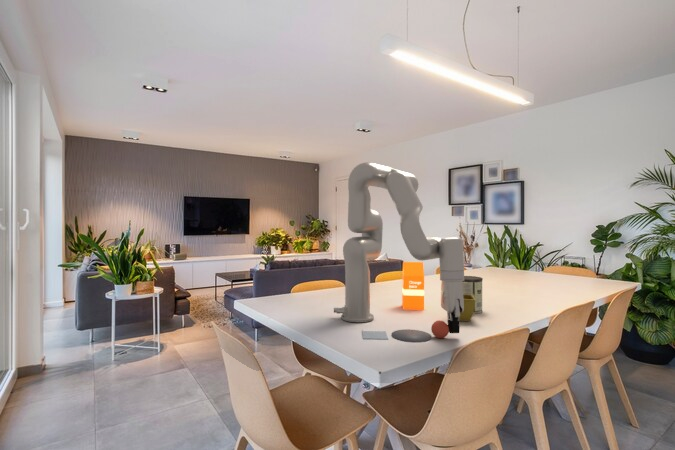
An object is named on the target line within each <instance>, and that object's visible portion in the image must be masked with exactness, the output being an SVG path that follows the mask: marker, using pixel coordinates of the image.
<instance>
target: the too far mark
mask: <svg viewBox="0 0 675 450" xmlns="http://www.w3.org/2000/svg"><path fill="white" fill-rule="evenodd" d="M361 333H362V339H363V340H389V336H388V334H387V332H386V330H381V331H380V330H378V331H376V330H375V331H374V330H372V331H371V330H369V331H368V330H362V331H361Z"/></svg>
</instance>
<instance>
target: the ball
mask: <svg viewBox="0 0 675 450" xmlns="http://www.w3.org/2000/svg"><path fill="white" fill-rule="evenodd" d="M431 334H432V335H433V336H434V337H436V338H437V339H444V338H446V337H447V336H448V334H450V333H449V327H448V323H446V322H445V321H444V320H436V321H434V322H433V323H432V324H431Z"/></svg>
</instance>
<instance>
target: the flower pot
mask: <svg viewBox="0 0 675 450" xmlns="http://www.w3.org/2000/svg"><path fill="white" fill-rule="evenodd" d="M463 298H464V311H463V312H462V313H461V312H460V317H459V322H470V321H471V319H472V317H473V316H474V314H475V313H474V307H475V298H474V297H473V296H472V295H463Z"/></svg>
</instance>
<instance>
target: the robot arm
mask: <svg viewBox="0 0 675 450" xmlns="http://www.w3.org/2000/svg"><path fill="white" fill-rule="evenodd" d="M348 176H349V177H348V180H347V181H348V182H347V183H348V184H347V188H348V204H347V205H348V206H347V226H348V230H349V231H351V232H352V233H356V234H361V236H353V237H350V238H348V239H347V240H346V241H345V242H344V244H343V247H342V255H343V259H344V270H345V271H344V273H345V274H344V275H345V276H344V277H345V278H344V279H345V285H344V286H345V289H344V291H345V294H344V295H345V297H344V299H345V300H344V303H345V304H344V305H343V306H342V307H333V313H334V314H335V313H336V314H338V315H339V314H341V315H340V316H341V318H340V319H342V320H343V321H345V322H349V323H367V322H372V321H373V320H374V319H375V315H374V314H372V313H371V310H370V309H371V271H370V266H369V264H368V261H371V260H376V259H377V258H378V257H379V256H380V254H381V252H382V247H383V229H384V228H383V218H382V215H381V214H380V212H378V211H377V210H375V209H371V201H372V199H371V193H370V190H369V187H375V188H382V189H385V190H387V192H388V193H389V195H390V198H391V201H392V202H393V204H394V206H395V209H396V211H397V213H398V215H399V218H400V219H399V224H400V226H399V227H400V233H401V237H402V240H403V241H404V244H405V246H406V248H407V250H408V252H409V254H410V255H411V257H413V258H414V259H415V260H417V261H420V262H422V261H429V260H435V259H439V260H438V261H439V280H440V281H441V286H440V306H441V308H442V309H443V310H444V311H445V312H447V313H446V314H447V325H448V327H449V333H448V334H459V333H460V321H459V317H460V312H461V313H462V312H463V311H464V298H463V286H462V281H464V276H465V262H464V261H465V260H464V257H465V256H464V241H463V239H462V238H461V237H455V236H454V237H437V236H436V237H435V236H426V235H425V233H424V231H423V228H422V226H421V223H420V215H421V212H422V211H423V204H422V202H421V200H420V198H419V196H418V193H417V191H418V188H419V182H418V179H417V177H416V176H415V174H412V173H411V172H406V171H402V170H399V169H395V168H393V167H390V166H385V165H382V164H378V163H374V162H369V161H368V162H362V163H359V164H357V165H356V166H355V167H354V168H353V169H352V170H351V172H350V174H349V175H348Z"/></svg>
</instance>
